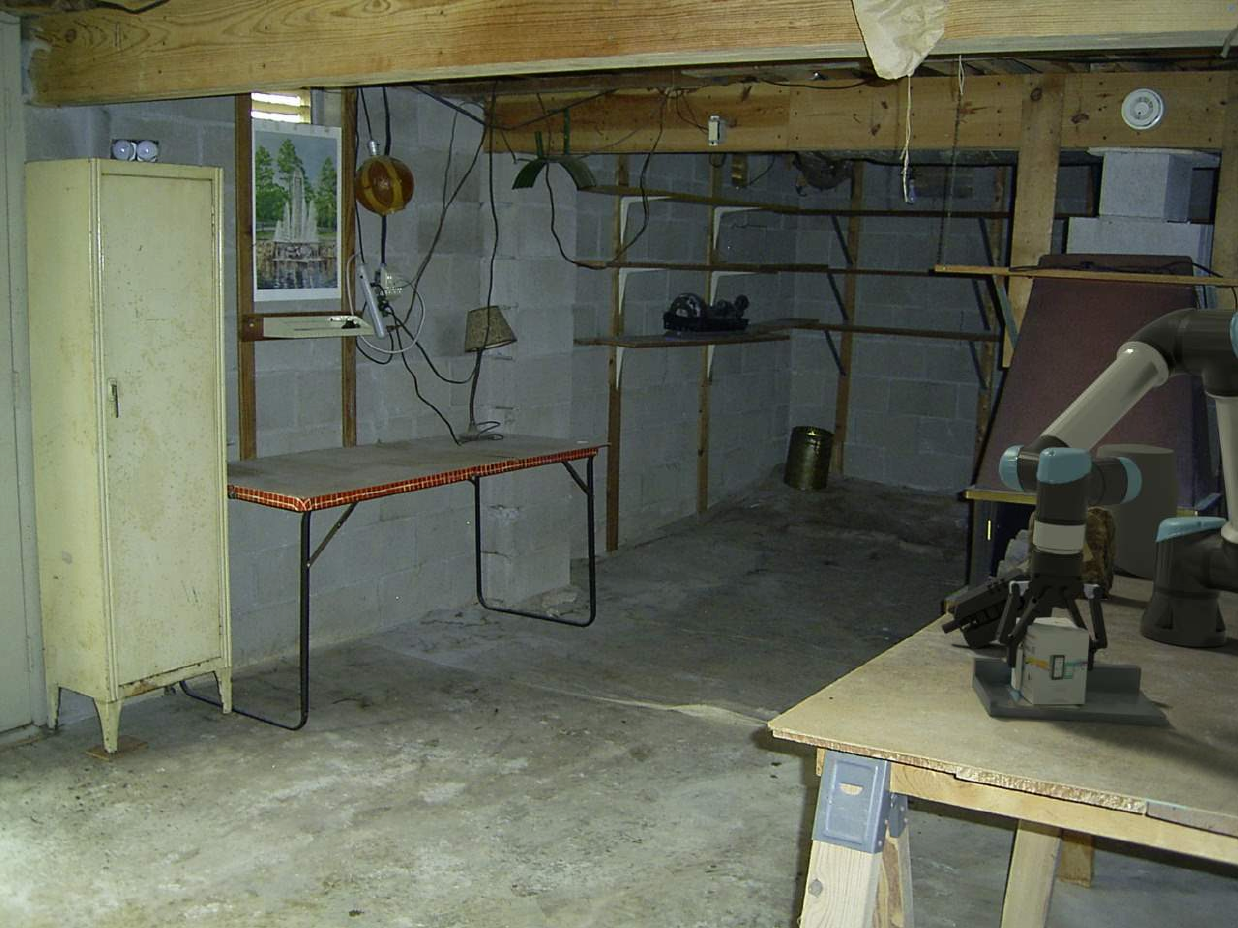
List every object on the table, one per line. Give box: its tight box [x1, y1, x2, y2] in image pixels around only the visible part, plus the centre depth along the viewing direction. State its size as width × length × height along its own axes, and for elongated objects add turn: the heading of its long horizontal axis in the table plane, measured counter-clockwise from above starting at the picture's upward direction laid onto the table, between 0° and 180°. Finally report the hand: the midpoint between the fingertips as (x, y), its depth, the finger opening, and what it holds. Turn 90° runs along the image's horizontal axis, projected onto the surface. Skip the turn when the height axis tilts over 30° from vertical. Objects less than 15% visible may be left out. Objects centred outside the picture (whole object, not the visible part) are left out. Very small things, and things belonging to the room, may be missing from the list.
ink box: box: [1012, 616, 1091, 704], centre depth 190 cm, size 8×8×12 cm
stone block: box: [1025, 507, 1116, 601], centre depth 264 cm, size 18×9×20 cm, turn 68°
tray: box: [971, 657, 1168, 727], centre depth 191 cm, size 26×14×5 cm, turn 85°
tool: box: [940, 567, 1053, 649], centre depth 222 cm, size 6×19×15 cm
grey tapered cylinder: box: [1095, 443, 1180, 579], centre depth 289 cm, size 20×20×30 cm
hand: (1047, 688), depth 190 cm, fingers closed on ink box, 9 cm apart
